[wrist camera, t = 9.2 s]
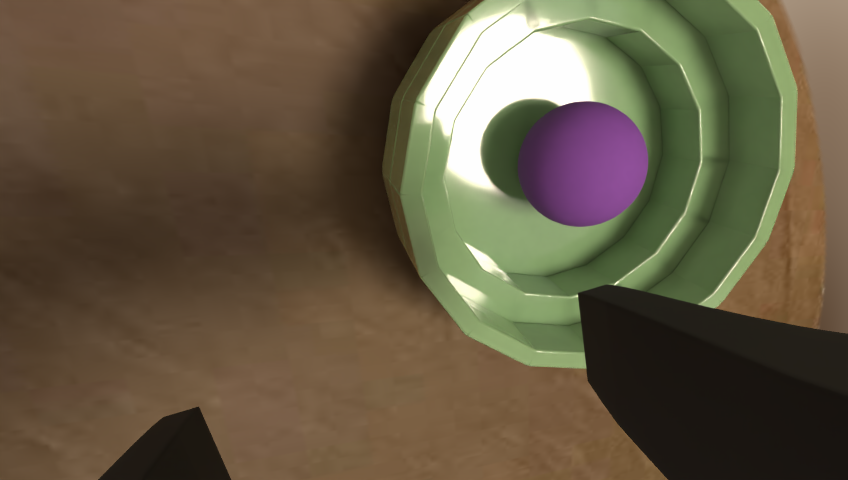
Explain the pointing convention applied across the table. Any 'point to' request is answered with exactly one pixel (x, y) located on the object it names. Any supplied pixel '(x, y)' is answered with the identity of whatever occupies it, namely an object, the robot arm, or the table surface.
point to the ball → (582, 163)
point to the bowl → (615, 86)
